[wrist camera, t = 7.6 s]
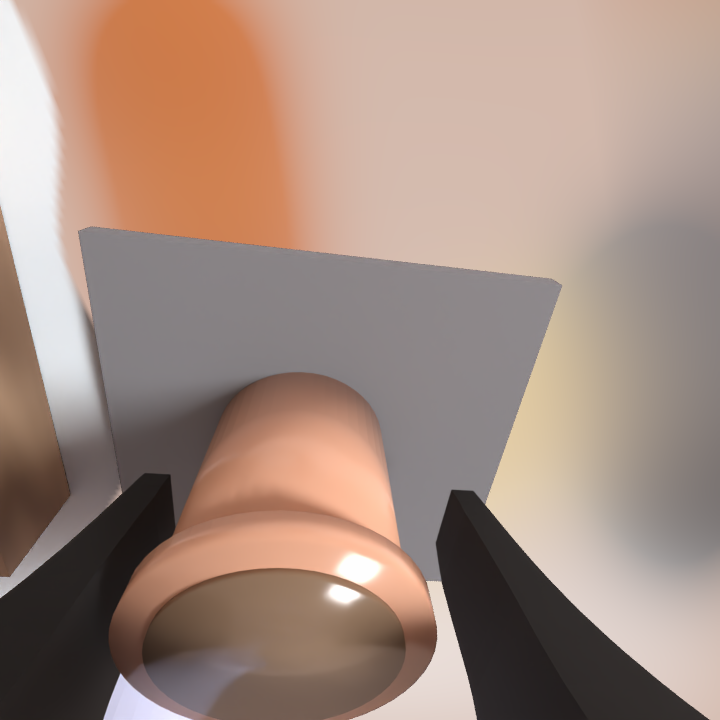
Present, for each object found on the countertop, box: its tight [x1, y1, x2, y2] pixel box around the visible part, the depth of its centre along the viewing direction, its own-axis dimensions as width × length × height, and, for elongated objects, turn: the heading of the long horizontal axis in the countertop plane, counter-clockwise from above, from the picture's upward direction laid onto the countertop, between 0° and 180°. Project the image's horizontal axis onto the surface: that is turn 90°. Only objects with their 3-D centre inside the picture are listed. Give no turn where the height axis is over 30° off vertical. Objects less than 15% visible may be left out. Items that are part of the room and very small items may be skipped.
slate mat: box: [78, 227, 562, 581], centre depth 13 cm, size 12×12×1 cm
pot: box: [108, 372, 437, 720], centre depth 10 cm, size 6×6×6 cm
